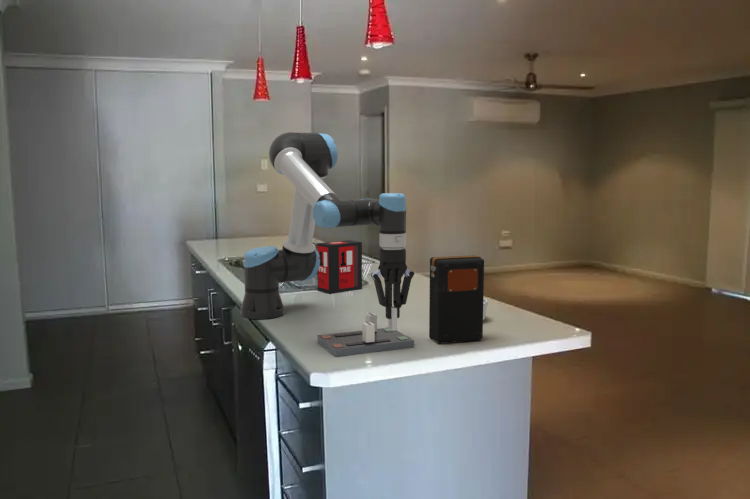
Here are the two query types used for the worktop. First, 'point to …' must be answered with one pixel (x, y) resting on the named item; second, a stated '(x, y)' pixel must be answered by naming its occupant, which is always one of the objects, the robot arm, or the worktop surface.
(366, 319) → the block
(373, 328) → the block
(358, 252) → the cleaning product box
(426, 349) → the worktop surface
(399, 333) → the breaker panel
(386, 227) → the robot arm
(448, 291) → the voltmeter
